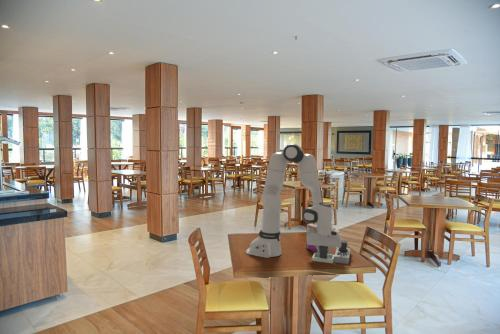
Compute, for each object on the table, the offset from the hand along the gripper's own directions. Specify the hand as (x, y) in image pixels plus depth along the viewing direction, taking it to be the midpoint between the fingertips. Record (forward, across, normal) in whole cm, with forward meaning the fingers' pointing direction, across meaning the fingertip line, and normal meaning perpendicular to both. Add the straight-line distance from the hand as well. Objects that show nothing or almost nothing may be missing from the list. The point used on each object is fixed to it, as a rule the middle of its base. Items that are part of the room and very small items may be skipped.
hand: (323, 253), depth 204 cm
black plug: (+4, 0, 0) cm, 4 cm away
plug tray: (+4, 0, 0) cm, 4 cm away
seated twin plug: (+3, +10, +11) cm, 15 cm away
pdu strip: (+4, +10, +7) cm, 13 cm away
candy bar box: (+4, -8, +17) cm, 19 cm away
